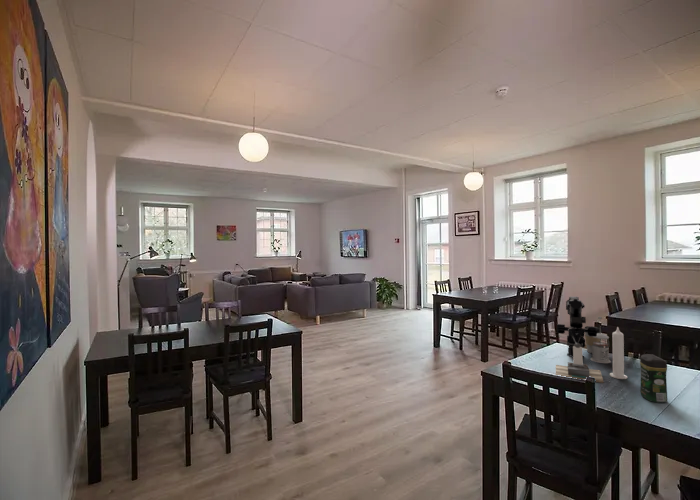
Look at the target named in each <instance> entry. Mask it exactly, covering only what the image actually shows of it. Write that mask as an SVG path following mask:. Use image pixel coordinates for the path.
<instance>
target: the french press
mask: <svg viewBox="0 0 700 500" xmlns="http://www.w3.org/2000/svg"><path fill="white" fill-rule="evenodd" d="M598 319H599V320H602V319H603V318H602V316H598V317H597V320H598ZM592 337H594V338H598V339H600V342H593V345H592V353H591V355H592V357H591V358H590V361H592V362H595V363H600V364H611V363H612V361H611V360H610V358H609V357H610V356H609V354H610V353H609V352H610V351H609V347H610V345H609V343H610V341H609V338H610V337H609V336H608V335H607V334H605V333H602V332H601V333H598V334H597V336H592ZM601 340H604V341H605V342H603V341H601ZM607 342H608V343H607ZM594 346H597V347H594ZM598 347H599V348H598Z"/></svg>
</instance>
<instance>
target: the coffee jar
mask: <svg viewBox="0 0 700 500" xmlns="http://www.w3.org/2000/svg"><path fill="white" fill-rule="evenodd" d="M639 366H640V387H639V388H640V390H639V391H640V395H641V396H642V397H643V398H644V399H646V400H647V401H650V402H654V403H659V404H662V403H667V402H668V387H667V370H668V364H667V361H666V360H665V359H663V358H661V357H659V356H657V355H655V354H652V353H651V354H647V353H643V354H642V355H640V359H639Z"/></svg>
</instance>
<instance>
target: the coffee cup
mask: <svg viewBox="0 0 700 500" xmlns="http://www.w3.org/2000/svg"><path fill="white" fill-rule="evenodd" d="M590 327H594V326H591V325H590ZM595 327H596V328H597V334H598V333H601V334H602V332H603V331H602V329H601V327H597V326H595ZM583 328H584V329H588V326H584V327H583ZM584 339H585V346H586V351H587V353H589V354H592V345H593V342H600V339H598V338H594V337H592V336H589V335H588V333H587V332H584ZM594 347H597V346H594ZM598 348H599V347H598Z"/></svg>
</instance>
